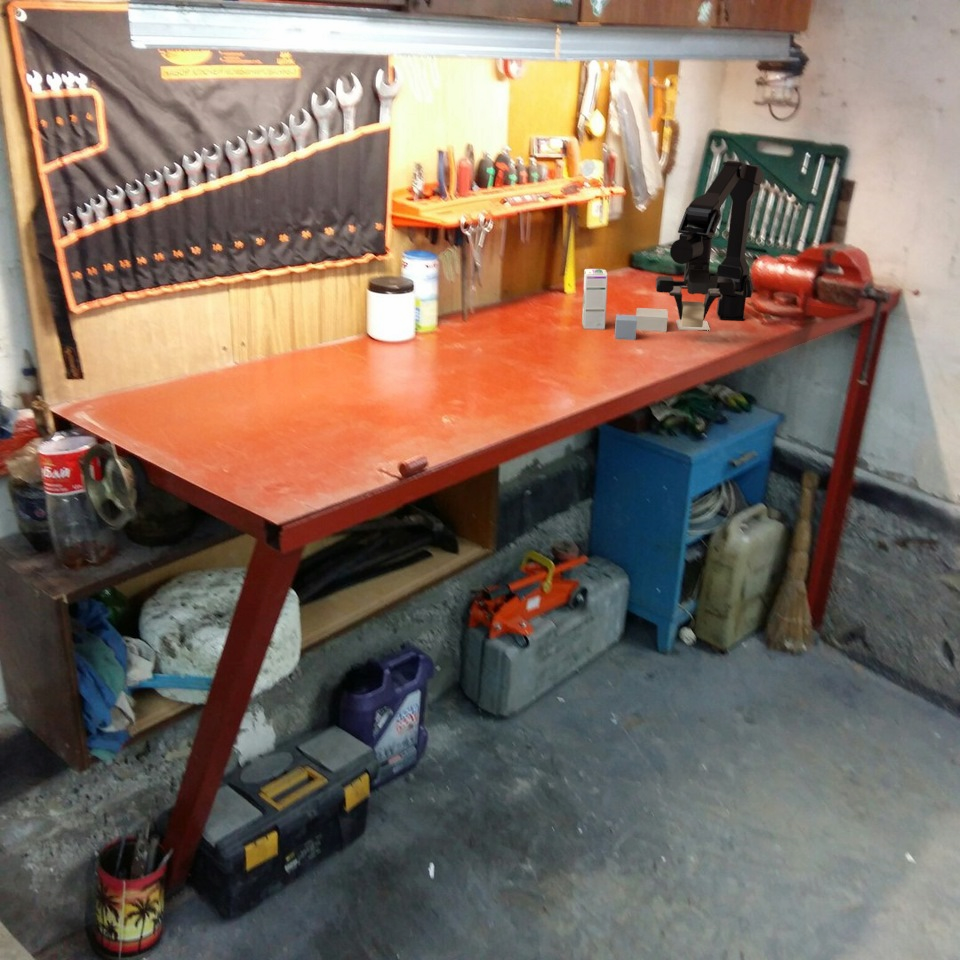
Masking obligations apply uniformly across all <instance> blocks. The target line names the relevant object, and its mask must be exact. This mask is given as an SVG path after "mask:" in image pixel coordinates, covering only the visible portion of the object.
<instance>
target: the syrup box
mask: <svg viewBox="0 0 960 960" xmlns="http://www.w3.org/2000/svg"><path fill="white" fill-rule="evenodd" d="M583 274H584V275H583V290H582V291H583V296H582V311H581V313H582V317H581V324H582V326H583V327H582V328H583V329H584V330H606V317H607V316H606V315H607V299H608V298H607V295H608V294H607V293H608V279H609V278H608V275H609V274H608V272H607V270H606V269H605V268H585V269H584V272H583Z"/></svg>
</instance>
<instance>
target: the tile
mask: <svg viewBox="0 0 960 960" xmlns="http://www.w3.org/2000/svg"><path fill="white" fill-rule="evenodd" d="M675 321H676V325H677V329H678V331H679V330H680V331H698V330H707V331H706V332H711V328H710V326H709V323H708V321H707V320H703V326H702V327H683V326H681V322H680V319H676V320H675ZM708 330H709V331H708Z"/></svg>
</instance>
